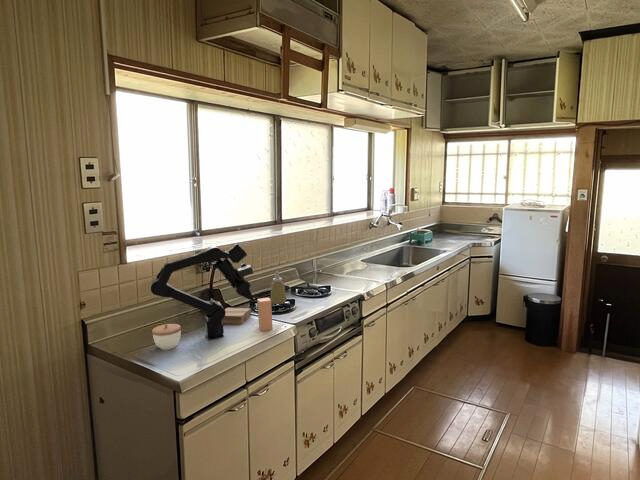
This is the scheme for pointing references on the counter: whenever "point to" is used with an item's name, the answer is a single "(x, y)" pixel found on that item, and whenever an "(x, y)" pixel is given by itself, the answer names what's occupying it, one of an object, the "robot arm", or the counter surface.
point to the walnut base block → (236, 315)
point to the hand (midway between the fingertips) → (250, 297)
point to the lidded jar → (167, 336)
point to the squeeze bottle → (278, 290)
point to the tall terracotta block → (264, 314)
